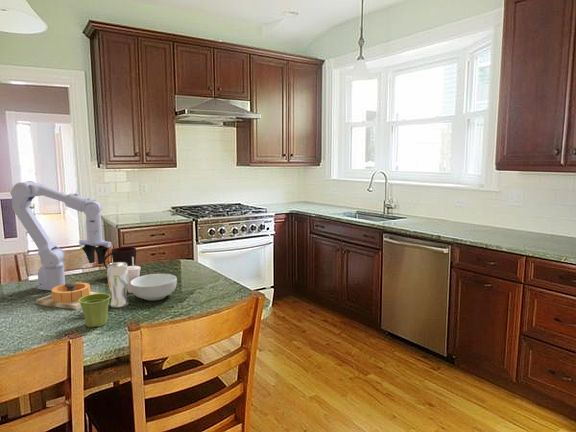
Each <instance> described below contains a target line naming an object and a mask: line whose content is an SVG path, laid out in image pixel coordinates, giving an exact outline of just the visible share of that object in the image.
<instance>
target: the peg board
mask: <svg viewBox="0 0 576 432" xmlns="http://www.w3.org/2000/svg"><path fill="white" fill-rule="evenodd" d="M75 285H76V282H68V283H65V287H67V291H74V286H75ZM100 293H101V292H98V291H91V294H100ZM102 293H103V294H105V293H104V292H102ZM91 294H90V295H91ZM35 303H36V305H40V306H41V305H42V306H48V307H56V308H62V309H67V310H68V309H69V310H79V309H80V308H81V309H82V307H81V304H80V303H79V301H74V302H63V303H62V302H55V301H53V300H52V294H49V295H46V296H43V297H41V298H38V299H36V300H35Z"/></svg>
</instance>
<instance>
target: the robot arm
mask: <svg viewBox="0 0 576 432" xmlns="http://www.w3.org/2000/svg"><path fill="white" fill-rule="evenodd" d="M10 196H11V199H12V200H11V202H12V203H11V208H12V211H13V213H14V214H15V215H16V216H17V219H18V220H19V221H20V222H21V224H22V225H23V227H24V229H25V230H26V232H27V233H28V234H29V236H30V238H31V239H32V241H33V242H34V243H35V245H36V247H37V249H38V251H37V252H38V256H39V257H40V263H41V264H42V266H40V267H39V269H38V271H37V280H38V281H37V282H38V287H36V289H37V290H41V291H42V290H45V291H50V292H51V290H52V289H53V288H54V287H56V286H59V285H62V284H66V278H65V277H66V276H65V275H66V274H65V264H64V262H63V260H65V258H66V252H64V250H63V249H62V248H60V247H59V246H58V245H57V243H55V242H53V241H52V240H51V239H50V236H49V235H48V234H47V232H46V230H45V229H44V228H43V226H42V224H41V223H40V221H39V220H38V218H37V217H36V215H35V214H34V212H33V211H32V209H31V208H30V206H31V204H32V201H33V200H34V198H35V197H40V196H44V197H46V198H49V199H53V200H56V201H59V202H63V204H64V205H65V207H66V208H70V209H73V210H75V211H78V212H80V213H83V214H84V215H85V226H86V239H81V240H78V243H79V246H82V247H81V249H82V250H83V252H84V253H85V255H86V258H87V259H88V263H89V264H95V259H96V257H95V253H96V256H97V263H98V265H104V264H103V263H104V258H105V256H106V254H107V252H108V250H109V248H111V247H113V245H112V242H111V241H107V240H104V239H103V238H104V237H103V227H102V226H103V225H102V216H101V215H102V213H101V212H102V210H103V206H102V204H101V203H100V201H99V200H98V201H97V200H95V199H91V198H90V197H88V198H87V197H84V196H81V195H80V193H77V192H75V193H72V192H71V193H68V194H66V193H65V192H64V193H63V192H61V191H59V190H57V189H54V188H52V187H49V186H47V185H45V184H42V183H39V182H34V181H33V180H29V181H24V182H17V183H16V184H15V183H14V185H13V187H12V189H11V190H10Z"/></svg>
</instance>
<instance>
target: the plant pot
mask: <svg viewBox="0 0 576 432" xmlns="http://www.w3.org/2000/svg"><path fill="white" fill-rule="evenodd" d="M99 293H100V294H91V295H87V296H84V297H81V298H80V299H79V300H78V301H79V303H80V304H81V309H82V313H83V317H84V323H85V325H86V327H87V328H94V327H103V326H104V325H106V324H107V321H108V315H109V304H110V301H111V300H110V299H111V294H108V293H104V292H99ZM103 293H104V294H103Z"/></svg>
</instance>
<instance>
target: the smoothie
mask: <svg viewBox="0 0 576 432" xmlns="http://www.w3.org/2000/svg"><path fill="white" fill-rule="evenodd" d="M141 270H142V269H141V266H138V265H135V266H134V257H132V266H128V287H127V293H129V294H133V292H132V290H131V286H130V282H131V281H132V280H133V279H135V278H137V277H140V273H141Z"/></svg>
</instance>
